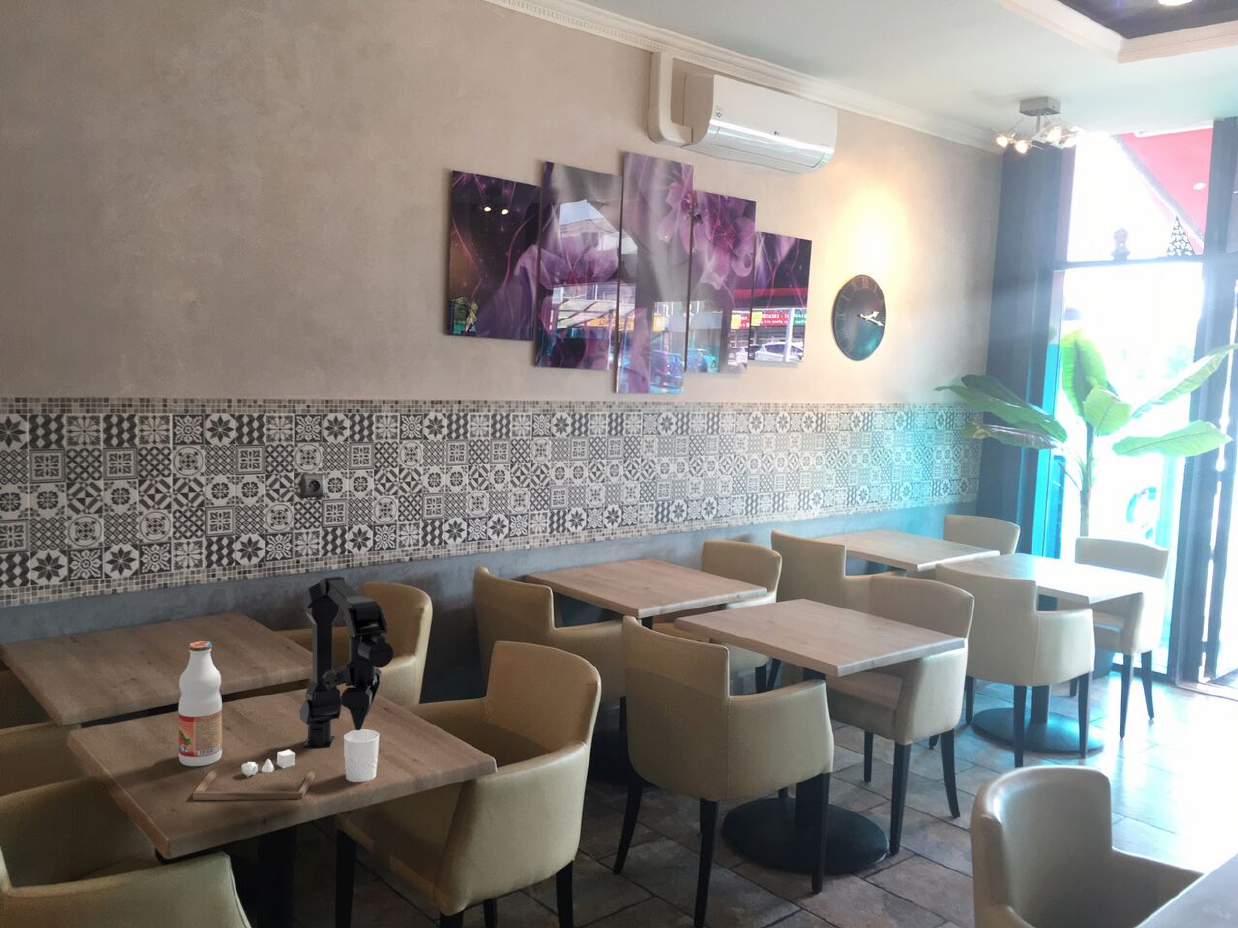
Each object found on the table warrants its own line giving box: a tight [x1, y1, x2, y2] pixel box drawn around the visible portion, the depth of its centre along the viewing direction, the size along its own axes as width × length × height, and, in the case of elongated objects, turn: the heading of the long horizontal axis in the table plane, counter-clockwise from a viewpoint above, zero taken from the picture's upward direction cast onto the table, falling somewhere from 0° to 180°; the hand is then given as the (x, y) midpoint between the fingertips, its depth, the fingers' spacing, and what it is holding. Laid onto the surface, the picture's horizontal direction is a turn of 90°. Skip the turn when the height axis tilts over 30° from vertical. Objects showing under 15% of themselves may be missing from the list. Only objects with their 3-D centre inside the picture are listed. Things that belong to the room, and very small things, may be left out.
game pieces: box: [241, 749, 296, 778], centre depth 232 cm, size 12×3×3 cm, turn 135°
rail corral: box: [192, 768, 316, 801], centre depth 223 cm, size 13×23×2 cm, turn 95°
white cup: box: [343, 728, 380, 783], centre depth 230 cm, size 8×8×10 cm
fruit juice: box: [178, 640, 223, 767], centre depth 235 cm, size 9×9×28 cm
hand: (361, 722), depth 229 cm, fingers open, 9 cm apart
